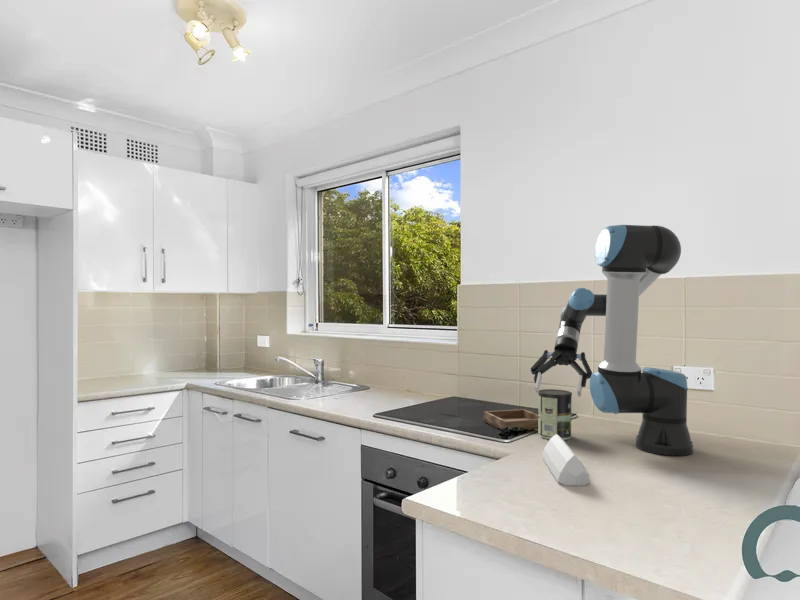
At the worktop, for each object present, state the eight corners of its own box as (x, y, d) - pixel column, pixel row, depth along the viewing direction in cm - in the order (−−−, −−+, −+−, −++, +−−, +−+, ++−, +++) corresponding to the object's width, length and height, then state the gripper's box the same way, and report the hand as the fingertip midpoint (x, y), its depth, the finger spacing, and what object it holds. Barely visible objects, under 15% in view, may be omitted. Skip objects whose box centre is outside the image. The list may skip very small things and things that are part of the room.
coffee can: (569, 433, 176) (570, 389, 176) (573, 441, 166) (573, 395, 166) (536, 431, 178) (537, 388, 178) (538, 439, 168) (538, 394, 168)
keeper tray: (548, 429, 180) (548, 418, 180) (505, 432, 176) (505, 421, 176) (523, 418, 196) (523, 409, 196) (483, 421, 191) (483, 411, 191)
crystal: (534, 442, 150) (551, 470, 126) (557, 430, 150) (579, 456, 126) (547, 466, 150) (567, 499, 126) (570, 454, 150) (595, 484, 126)
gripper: (605, 351, 188) (598, 402, 175) (533, 347, 200) (521, 395, 186) (603, 337, 183) (596, 388, 170) (529, 334, 195) (517, 381, 182)
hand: (557, 392), depth 178 cm, fingers open, 13 cm apart
